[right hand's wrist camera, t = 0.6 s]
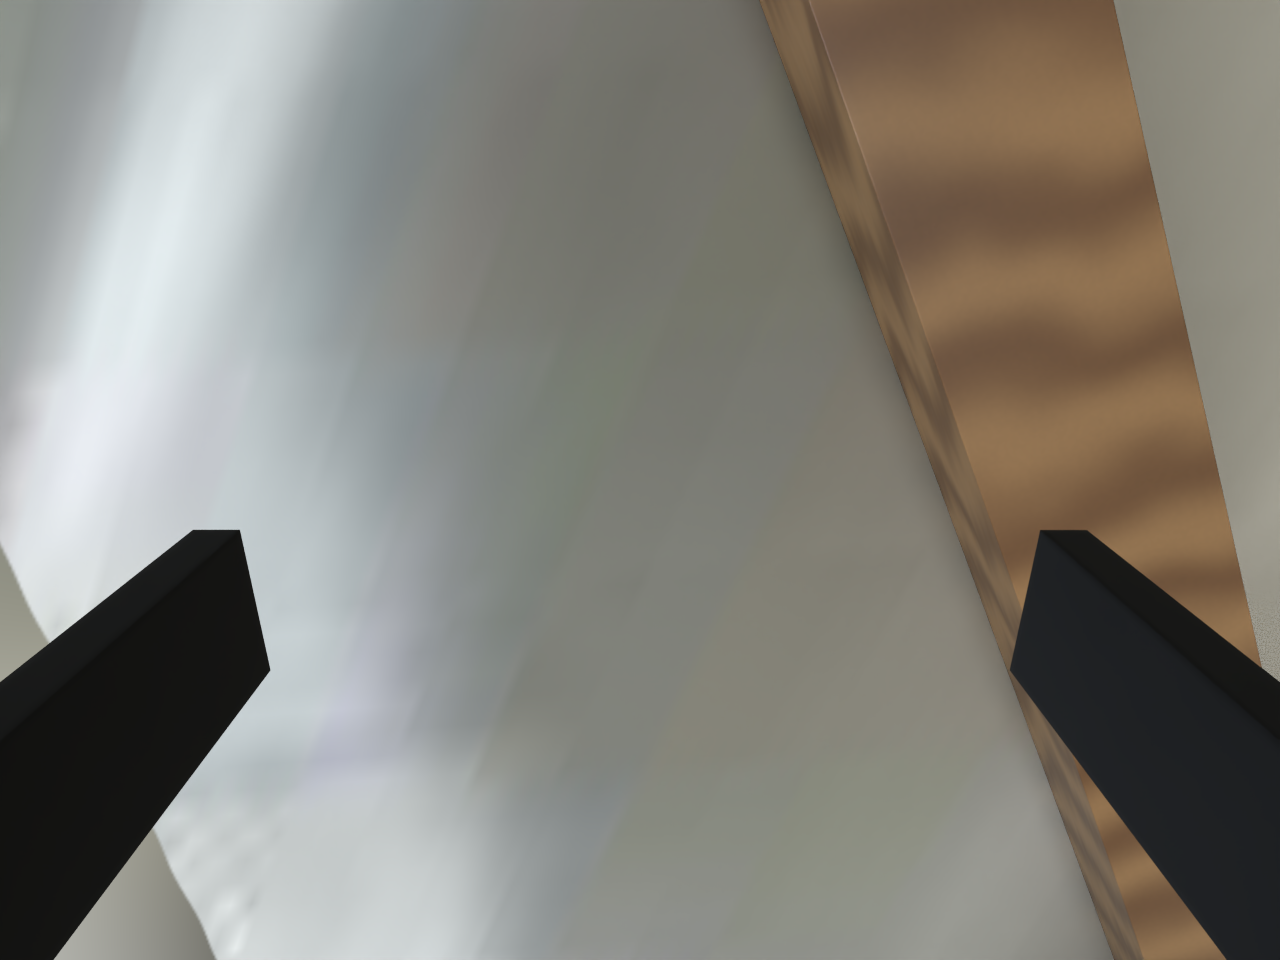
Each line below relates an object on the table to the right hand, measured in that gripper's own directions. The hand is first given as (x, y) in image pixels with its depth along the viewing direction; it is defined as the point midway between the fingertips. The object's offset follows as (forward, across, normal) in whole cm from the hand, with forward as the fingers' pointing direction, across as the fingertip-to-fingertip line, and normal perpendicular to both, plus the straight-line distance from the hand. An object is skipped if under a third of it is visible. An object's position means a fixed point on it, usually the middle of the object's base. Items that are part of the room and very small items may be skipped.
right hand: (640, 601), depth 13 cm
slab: (+25, +25, -17) cm, 39 cm away
